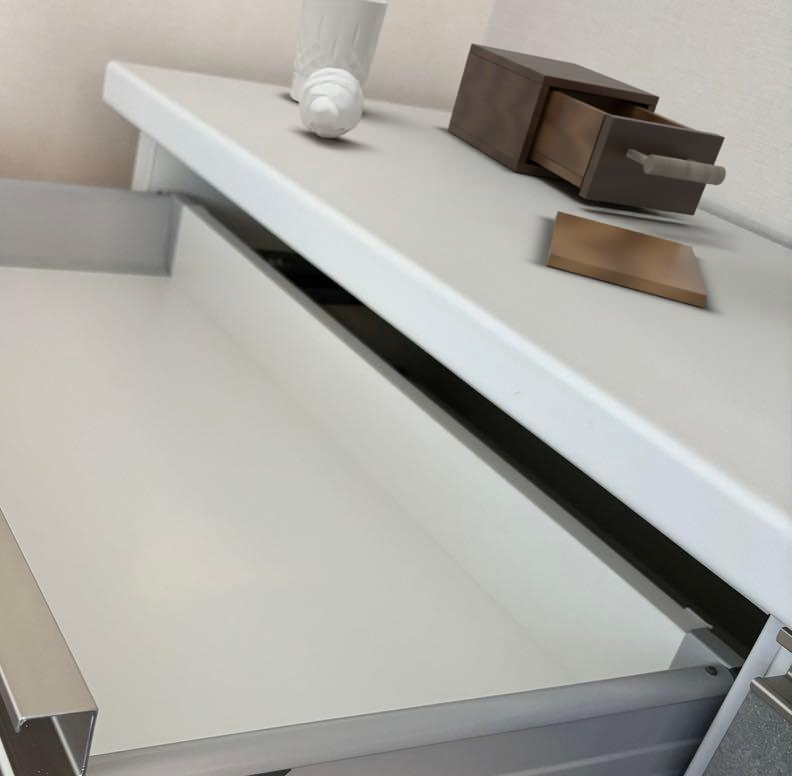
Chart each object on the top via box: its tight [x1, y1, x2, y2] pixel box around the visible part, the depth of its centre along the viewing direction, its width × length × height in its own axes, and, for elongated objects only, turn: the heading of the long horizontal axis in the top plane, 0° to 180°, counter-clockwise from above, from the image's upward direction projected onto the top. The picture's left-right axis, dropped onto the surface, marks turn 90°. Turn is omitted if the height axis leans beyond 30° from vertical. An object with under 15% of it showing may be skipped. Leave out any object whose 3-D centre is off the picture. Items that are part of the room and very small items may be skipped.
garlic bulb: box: [298, 68, 365, 139], centre depth 90 cm, size 6×6×5 cm
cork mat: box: [546, 210, 709, 308], centre depth 75 cm, size 10×14×1 cm
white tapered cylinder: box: [289, 0, 389, 103], centre depth 105 cm, size 8×8×10 cm
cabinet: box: [447, 42, 660, 181], centre depth 102 cm, size 16×12×8 cm
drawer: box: [528, 86, 727, 216], centre depth 91 cm, size 19×10×6 cm, turn 14°
